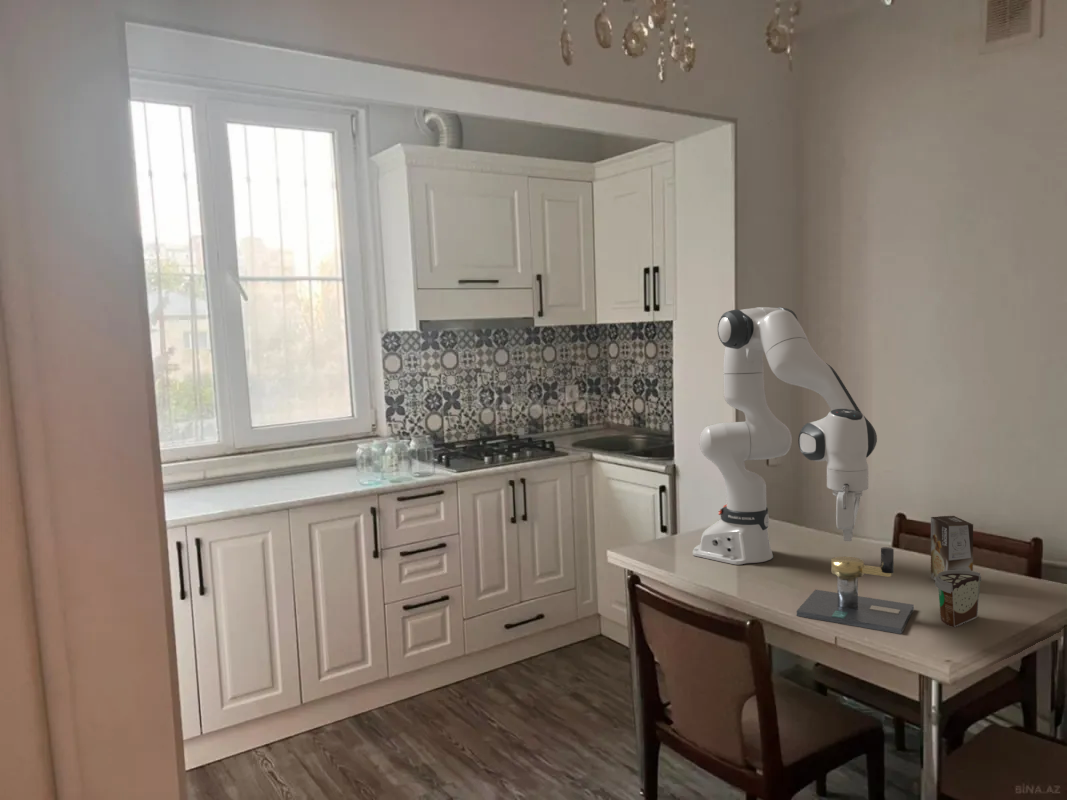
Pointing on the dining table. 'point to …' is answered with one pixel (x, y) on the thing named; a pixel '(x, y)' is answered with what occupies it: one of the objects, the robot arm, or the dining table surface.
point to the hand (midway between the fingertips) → (847, 539)
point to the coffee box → (951, 545)
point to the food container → (958, 596)
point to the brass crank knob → (856, 566)
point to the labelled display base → (856, 608)
